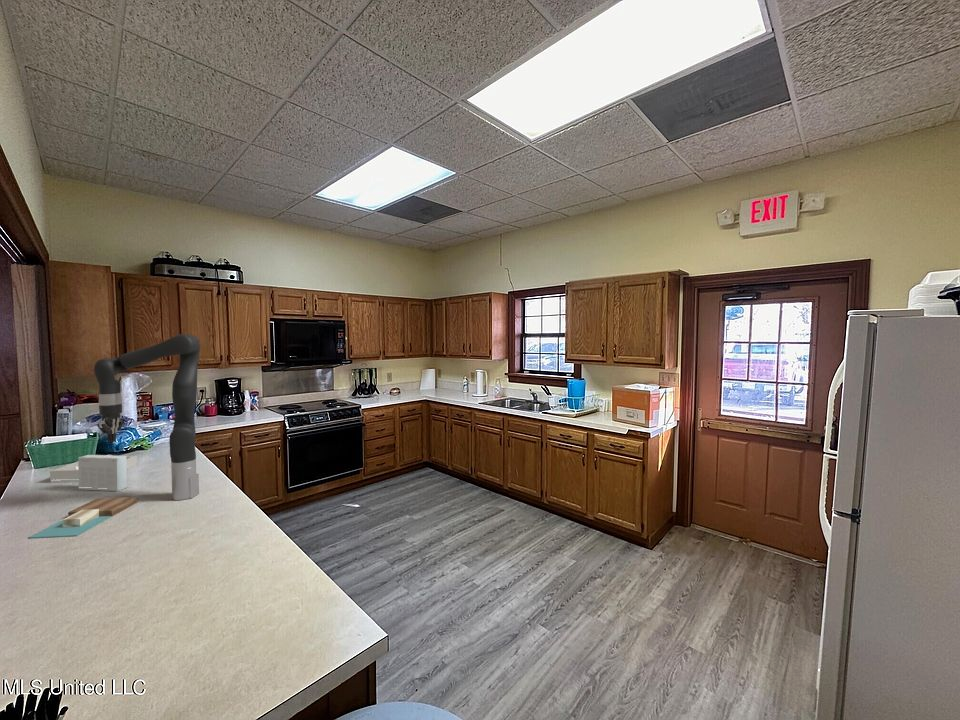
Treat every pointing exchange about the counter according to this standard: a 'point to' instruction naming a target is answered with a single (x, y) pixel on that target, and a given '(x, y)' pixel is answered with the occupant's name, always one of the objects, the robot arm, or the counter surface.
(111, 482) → the skincare box
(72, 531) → the mat
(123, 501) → the brown flat block
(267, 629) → the counter surface
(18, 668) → the counter surface
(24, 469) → the counter surface
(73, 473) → the white stepped block
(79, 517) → the beige block
